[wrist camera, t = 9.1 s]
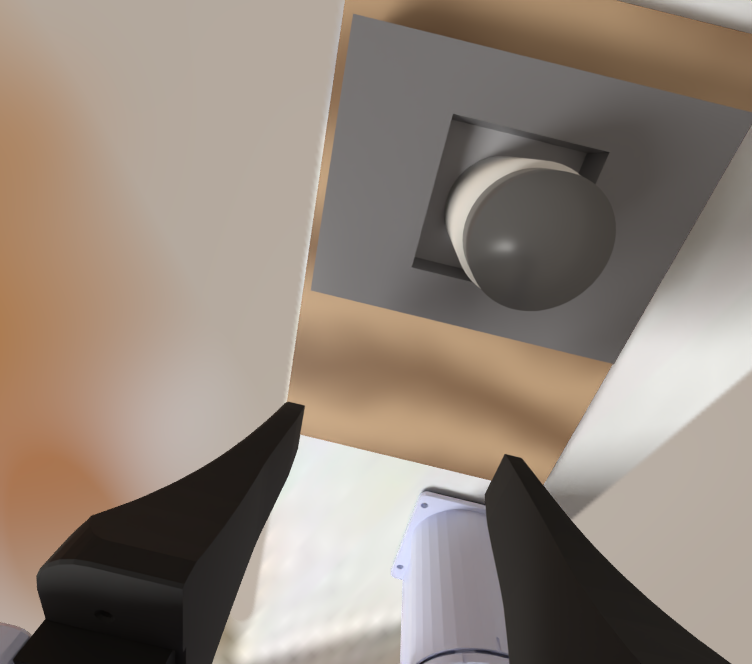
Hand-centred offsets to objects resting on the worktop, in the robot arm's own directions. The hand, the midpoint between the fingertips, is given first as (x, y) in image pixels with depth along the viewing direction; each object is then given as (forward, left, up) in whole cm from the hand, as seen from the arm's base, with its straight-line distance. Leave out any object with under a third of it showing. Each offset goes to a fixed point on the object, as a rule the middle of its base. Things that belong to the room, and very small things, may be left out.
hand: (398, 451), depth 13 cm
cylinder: (+8, -2, -7) cm, 11 cm away
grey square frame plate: (+8, -2, -8) cm, 12 cm away
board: (+4, -3, -9) cm, 11 cm away
